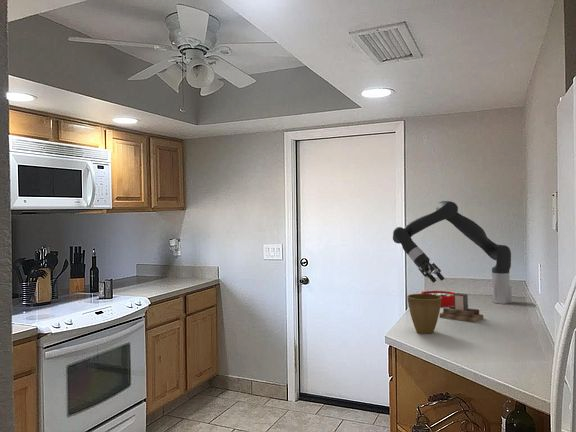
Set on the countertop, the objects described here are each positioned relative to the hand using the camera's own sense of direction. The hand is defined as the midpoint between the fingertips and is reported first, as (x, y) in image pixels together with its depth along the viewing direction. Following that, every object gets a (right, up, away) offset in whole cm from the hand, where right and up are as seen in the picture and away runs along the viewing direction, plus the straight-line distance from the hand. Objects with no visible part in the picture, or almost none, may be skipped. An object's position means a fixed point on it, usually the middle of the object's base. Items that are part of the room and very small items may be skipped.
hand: (439, 280), depth 245 cm
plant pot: (-17, -19, -33) cm, 42 cm away
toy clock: (+10, -18, +31) cm, 37 cm away
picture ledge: (+8, -18, -9) cm, 21 cm away
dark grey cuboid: (+8, -16, -8) cm, 20 cm away
